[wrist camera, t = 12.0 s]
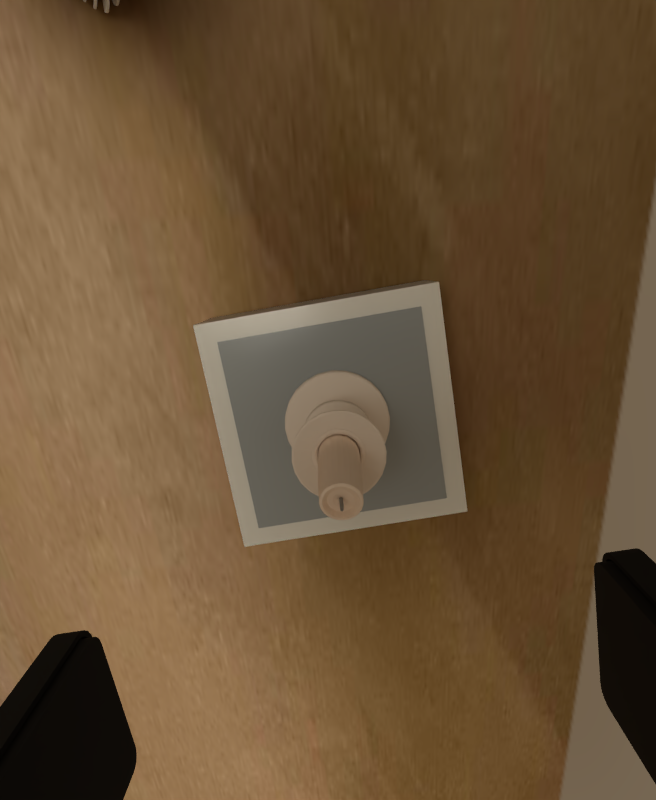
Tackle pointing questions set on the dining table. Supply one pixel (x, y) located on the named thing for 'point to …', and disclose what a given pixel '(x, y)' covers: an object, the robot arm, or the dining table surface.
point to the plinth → (320, 352)
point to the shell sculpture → (105, 4)
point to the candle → (338, 439)
